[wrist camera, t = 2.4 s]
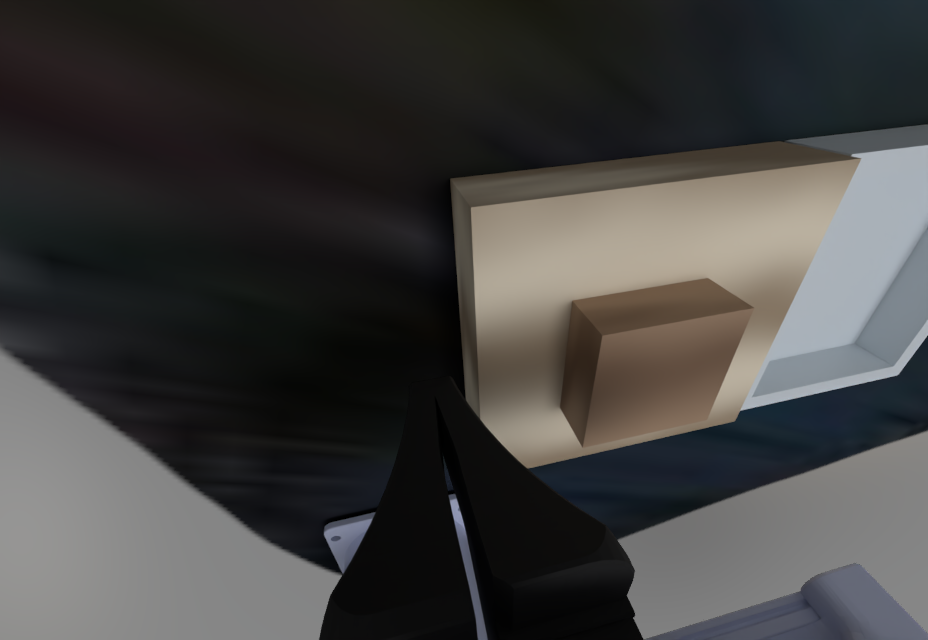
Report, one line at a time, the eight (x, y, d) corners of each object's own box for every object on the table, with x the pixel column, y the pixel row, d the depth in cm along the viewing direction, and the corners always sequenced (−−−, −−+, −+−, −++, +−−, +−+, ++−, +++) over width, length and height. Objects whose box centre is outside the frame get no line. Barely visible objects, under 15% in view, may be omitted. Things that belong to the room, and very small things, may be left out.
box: (850, 347, 23) (897, 375, 21) (696, 378, 22) (731, 412, 20) (994, 116, 16) (1084, 125, 14) (785, 140, 15) (851, 154, 13)
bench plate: (692, 379, 22) (734, 421, 19) (467, 426, 20) (483, 478, 17) (779, 141, 15) (861, 158, 12) (450, 178, 13) (470, 207, 11)
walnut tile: (672, 384, 17) (706, 420, 15) (559, 407, 16) (582, 447, 14) (707, 278, 14) (754, 307, 12) (572, 300, 13) (602, 335, 11)
